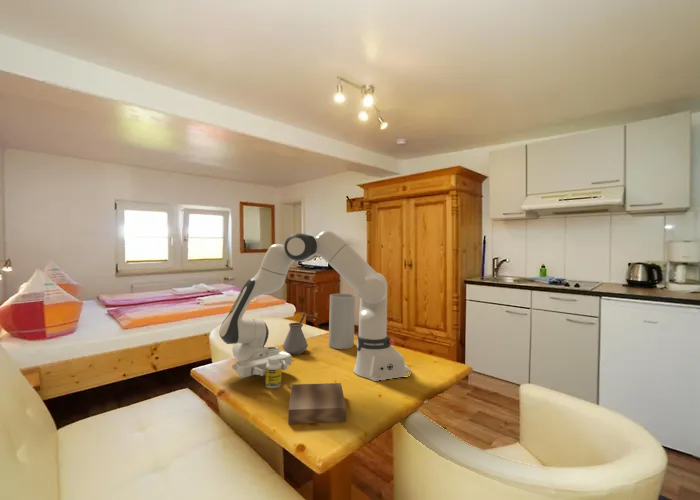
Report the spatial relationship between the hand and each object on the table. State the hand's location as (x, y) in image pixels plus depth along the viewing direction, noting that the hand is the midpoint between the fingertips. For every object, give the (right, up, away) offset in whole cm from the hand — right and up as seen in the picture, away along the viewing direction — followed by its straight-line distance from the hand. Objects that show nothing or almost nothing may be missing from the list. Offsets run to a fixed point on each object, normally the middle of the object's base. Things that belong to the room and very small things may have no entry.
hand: (275, 370), depth 111 cm
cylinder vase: (+22, -6, +47) cm, 52 cm away
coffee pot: (+1, -5, +41) cm, 42 cm away
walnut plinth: (+16, -6, -14) cm, 22 cm away
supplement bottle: (-1, -6, +1) cm, 6 cm away
